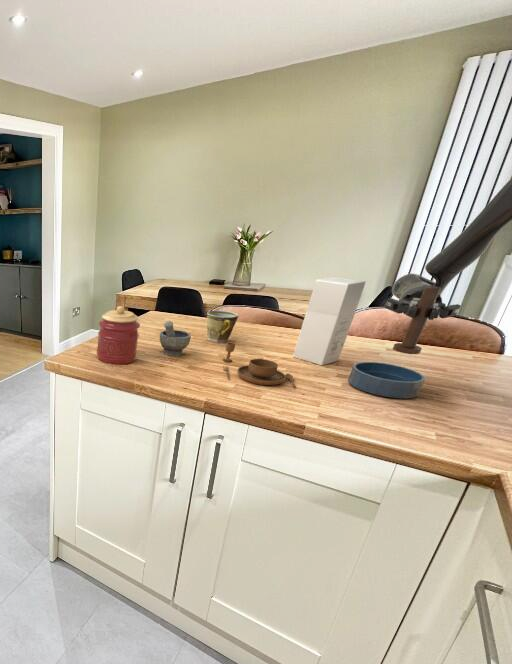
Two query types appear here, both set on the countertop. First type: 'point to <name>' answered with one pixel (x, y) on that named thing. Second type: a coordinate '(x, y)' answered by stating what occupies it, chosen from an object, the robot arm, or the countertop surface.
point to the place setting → (258, 370)
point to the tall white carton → (328, 319)
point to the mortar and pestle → (173, 340)
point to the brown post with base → (418, 322)
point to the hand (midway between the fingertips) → (423, 314)
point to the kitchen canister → (118, 336)
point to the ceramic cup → (220, 325)
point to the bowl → (386, 379)
